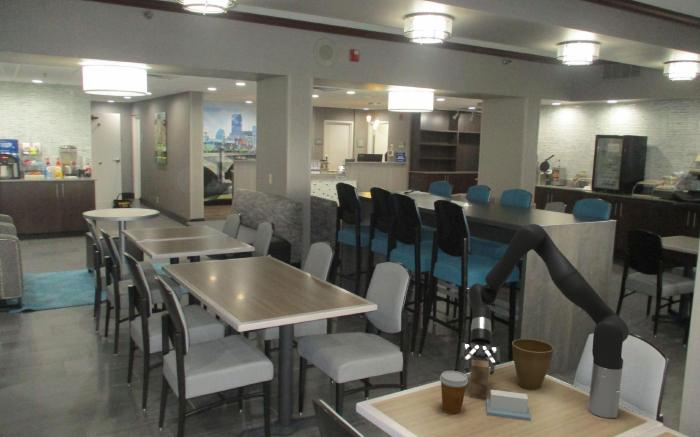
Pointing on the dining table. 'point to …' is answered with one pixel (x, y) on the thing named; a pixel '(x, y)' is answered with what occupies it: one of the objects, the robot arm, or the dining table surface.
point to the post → (479, 379)
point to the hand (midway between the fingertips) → (479, 372)
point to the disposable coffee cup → (453, 390)
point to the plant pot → (531, 361)
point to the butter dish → (508, 405)
